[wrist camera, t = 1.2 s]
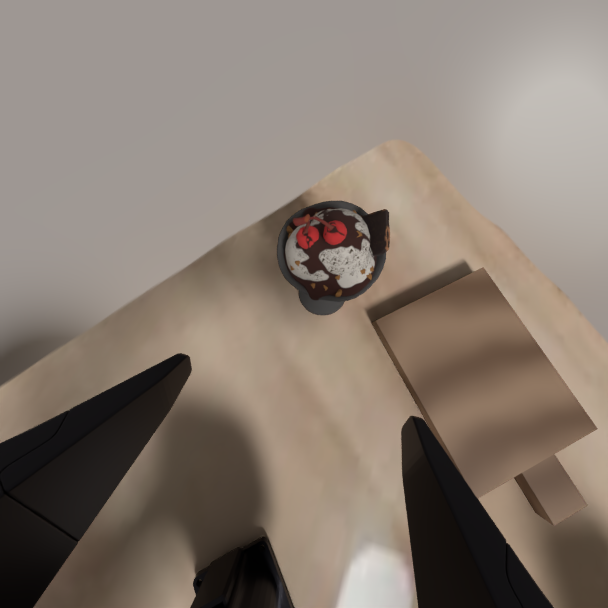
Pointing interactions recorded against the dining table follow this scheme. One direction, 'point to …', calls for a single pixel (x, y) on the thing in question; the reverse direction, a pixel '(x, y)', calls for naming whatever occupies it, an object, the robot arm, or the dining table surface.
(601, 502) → the dining table surface
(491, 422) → the board
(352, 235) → the sundae
